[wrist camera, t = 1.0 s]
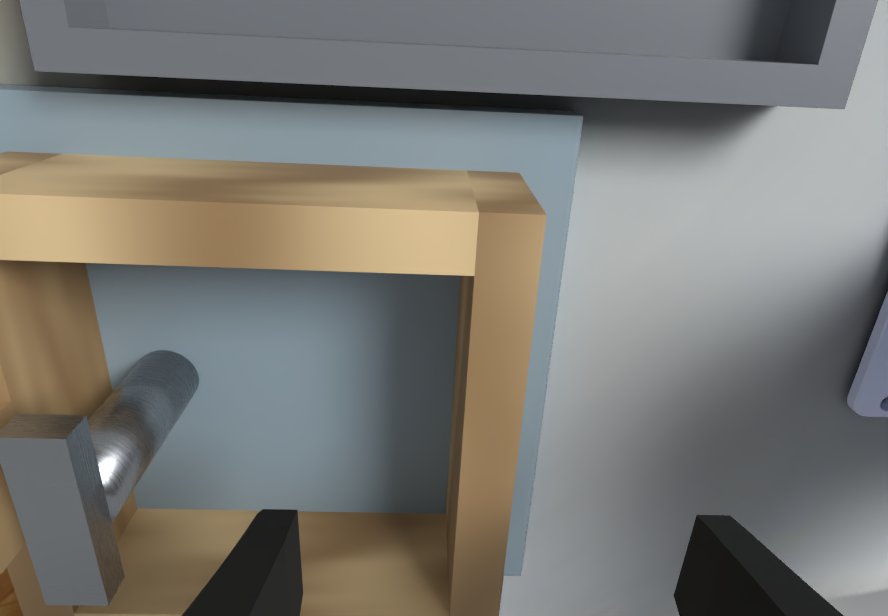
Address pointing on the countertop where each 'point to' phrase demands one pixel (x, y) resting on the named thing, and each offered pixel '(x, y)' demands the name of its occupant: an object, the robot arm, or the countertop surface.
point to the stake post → (90, 476)
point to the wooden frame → (288, 248)
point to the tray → (474, 45)
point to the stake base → (309, 303)
